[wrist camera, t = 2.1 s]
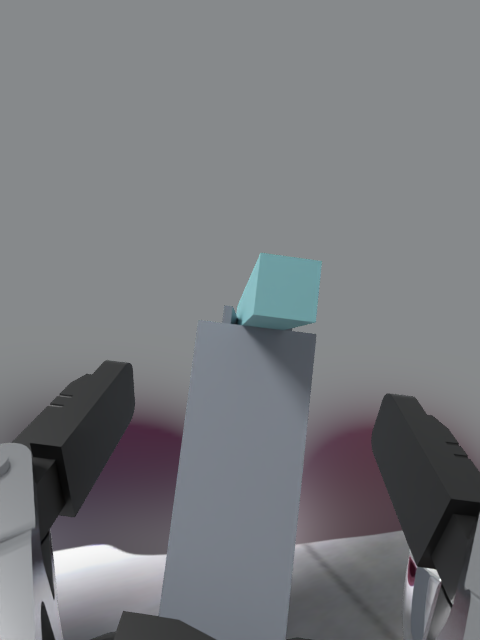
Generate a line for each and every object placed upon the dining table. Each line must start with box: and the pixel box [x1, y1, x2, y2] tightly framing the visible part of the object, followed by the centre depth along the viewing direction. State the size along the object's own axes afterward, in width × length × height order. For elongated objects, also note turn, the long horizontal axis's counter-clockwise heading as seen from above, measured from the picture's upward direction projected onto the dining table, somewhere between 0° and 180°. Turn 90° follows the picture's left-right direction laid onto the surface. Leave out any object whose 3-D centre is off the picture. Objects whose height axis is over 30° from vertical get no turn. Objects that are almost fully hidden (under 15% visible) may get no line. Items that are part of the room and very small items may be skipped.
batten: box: [237, 253, 322, 330], centre depth 30 cm, size 4×24×4 cm, turn 3°
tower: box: [159, 306, 316, 640], centre depth 30 cm, size 10×10×34 cm
